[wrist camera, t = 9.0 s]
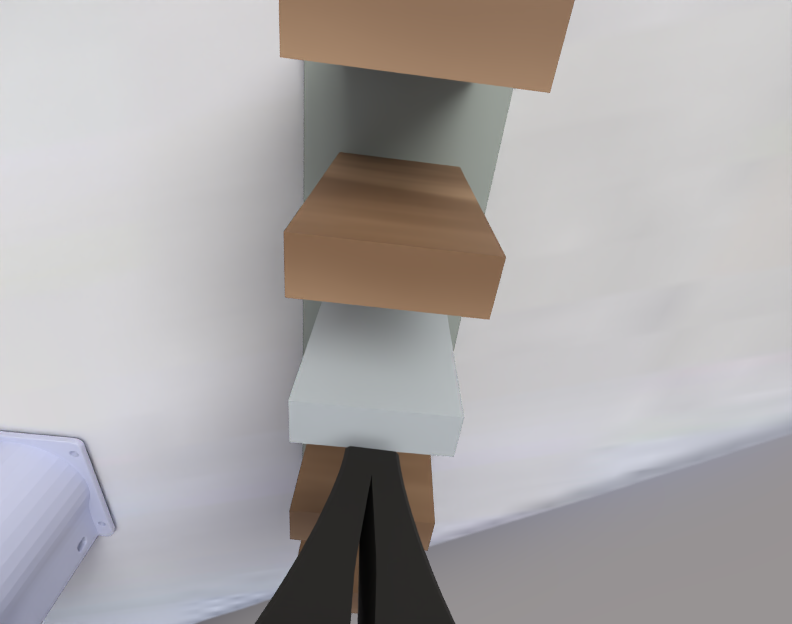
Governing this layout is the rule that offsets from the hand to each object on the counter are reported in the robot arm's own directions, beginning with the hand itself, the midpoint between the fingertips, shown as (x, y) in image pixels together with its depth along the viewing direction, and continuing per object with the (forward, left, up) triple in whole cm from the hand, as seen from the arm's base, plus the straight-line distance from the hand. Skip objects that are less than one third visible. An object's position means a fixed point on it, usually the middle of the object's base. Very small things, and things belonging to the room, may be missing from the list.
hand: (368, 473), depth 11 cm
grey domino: (+1, 0, -10) cm, 10 cm away
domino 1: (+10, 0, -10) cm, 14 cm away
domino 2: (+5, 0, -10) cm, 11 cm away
